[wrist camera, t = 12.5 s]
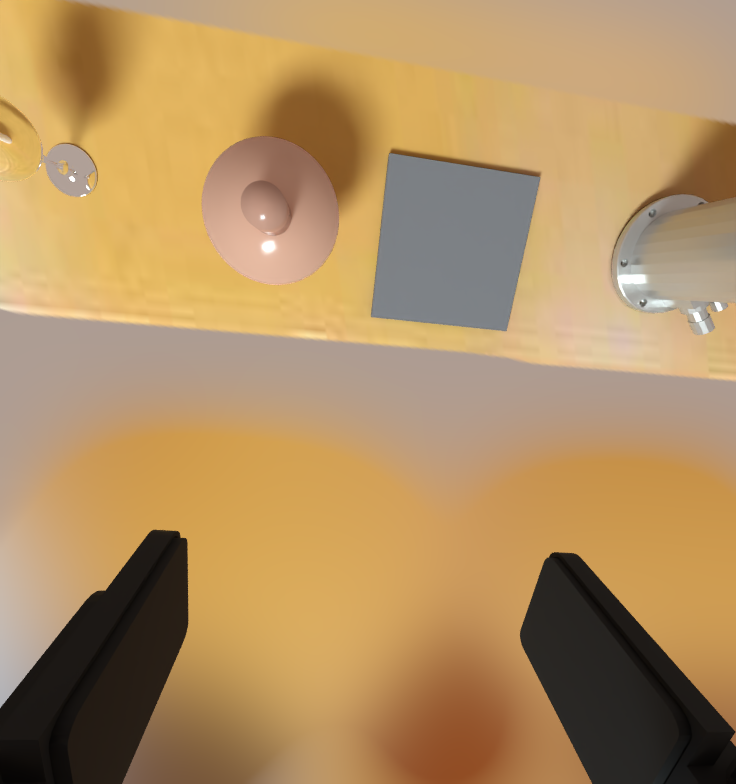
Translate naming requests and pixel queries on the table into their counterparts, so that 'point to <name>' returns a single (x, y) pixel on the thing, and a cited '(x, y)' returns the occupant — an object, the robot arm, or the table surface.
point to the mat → (451, 242)
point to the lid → (270, 210)
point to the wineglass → (41, 155)
